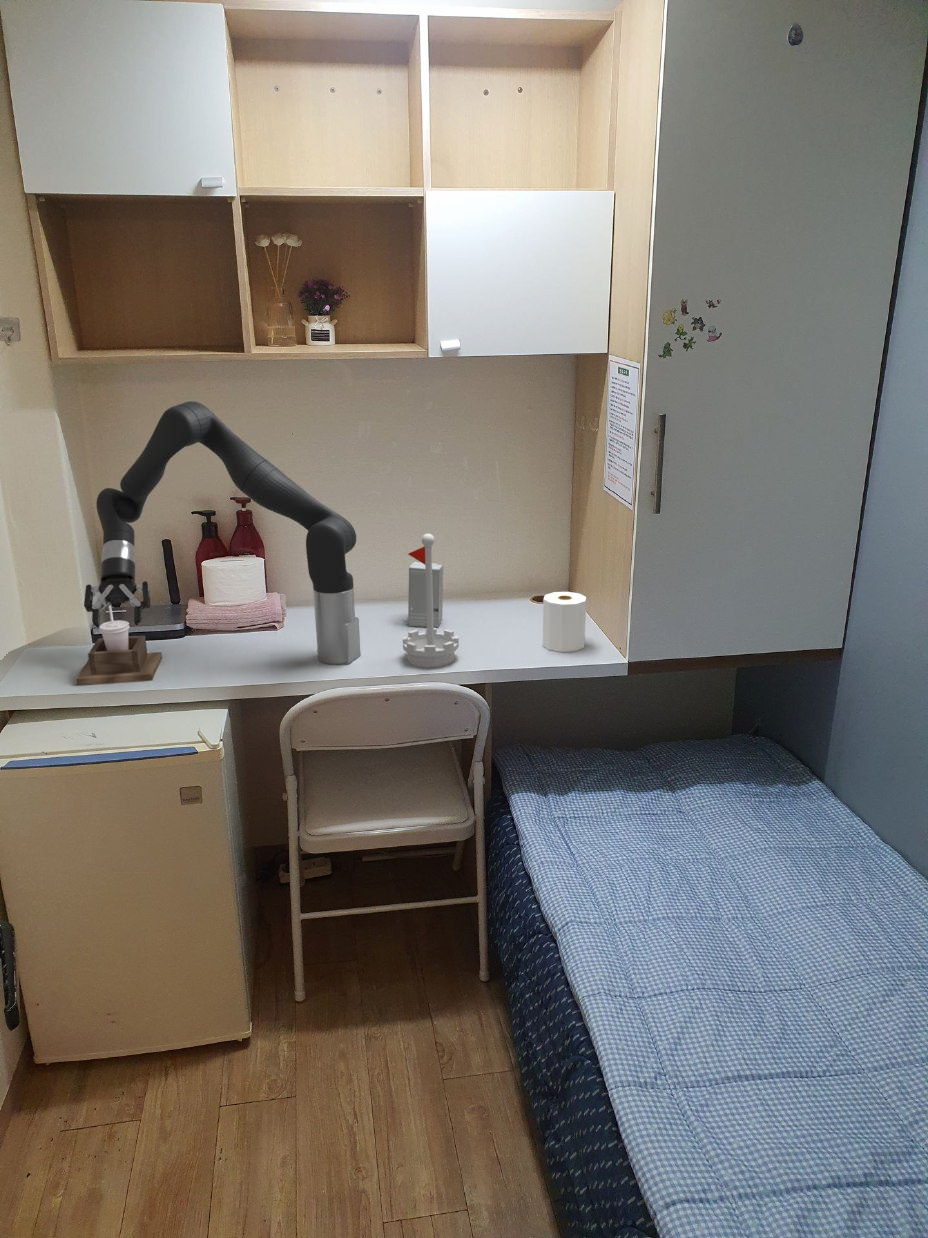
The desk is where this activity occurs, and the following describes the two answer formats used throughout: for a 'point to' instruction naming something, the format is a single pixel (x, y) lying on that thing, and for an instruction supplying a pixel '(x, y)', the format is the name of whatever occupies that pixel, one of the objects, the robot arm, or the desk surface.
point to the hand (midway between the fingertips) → (117, 624)
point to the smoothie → (115, 634)
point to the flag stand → (429, 623)
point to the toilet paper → (564, 621)
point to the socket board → (119, 663)
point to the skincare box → (424, 594)
